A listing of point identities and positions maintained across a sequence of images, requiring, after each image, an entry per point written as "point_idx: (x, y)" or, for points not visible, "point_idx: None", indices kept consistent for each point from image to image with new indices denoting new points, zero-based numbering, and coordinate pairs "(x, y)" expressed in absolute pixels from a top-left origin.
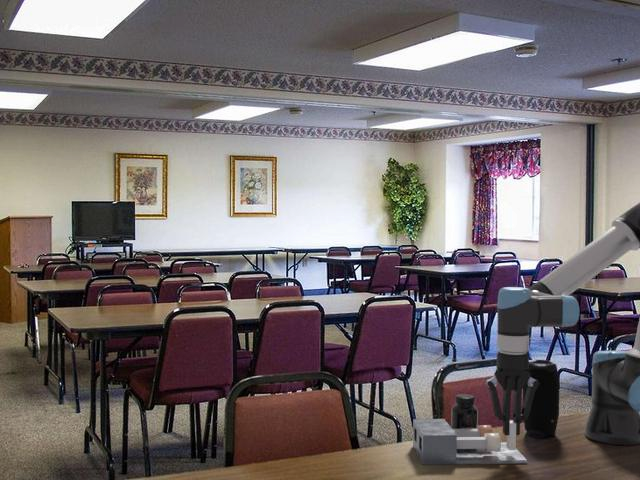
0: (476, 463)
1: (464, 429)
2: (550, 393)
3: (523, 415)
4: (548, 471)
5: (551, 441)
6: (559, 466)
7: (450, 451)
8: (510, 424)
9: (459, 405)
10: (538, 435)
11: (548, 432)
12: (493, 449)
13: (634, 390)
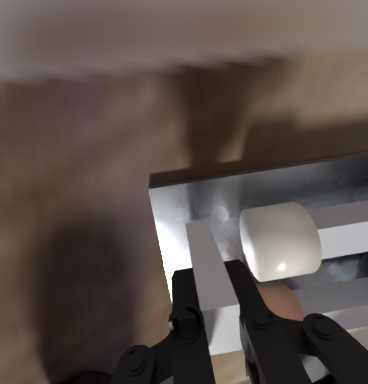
0: (312, 160)
1: (347, 323)
2: None
3: (151, 381)
4: (80, 109)
5: (63, 359)
6: (39, 169)
7: None
8: (234, 298)
9: None
10: (94, 379)
11: None
12: (270, 205)
13: None
